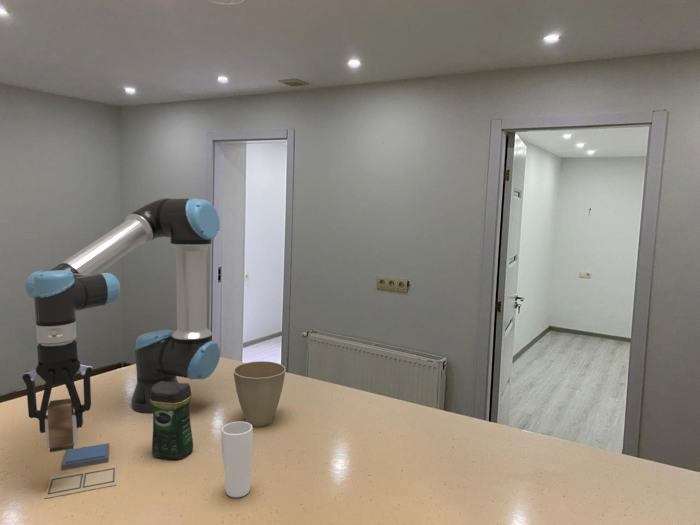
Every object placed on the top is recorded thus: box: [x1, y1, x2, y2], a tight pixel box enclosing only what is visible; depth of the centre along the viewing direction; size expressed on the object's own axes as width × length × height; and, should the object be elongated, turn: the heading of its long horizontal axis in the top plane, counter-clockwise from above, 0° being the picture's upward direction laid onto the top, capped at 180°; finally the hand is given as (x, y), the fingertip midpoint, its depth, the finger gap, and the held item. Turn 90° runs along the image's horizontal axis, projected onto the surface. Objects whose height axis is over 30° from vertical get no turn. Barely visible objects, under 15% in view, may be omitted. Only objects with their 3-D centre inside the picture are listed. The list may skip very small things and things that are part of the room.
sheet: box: [44, 465, 118, 500], centre depth 116 cm, size 14×9×1 cm, turn 113°
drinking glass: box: [221, 421, 254, 498], centre depth 112 cm, size 7×7×15 cm
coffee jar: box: [150, 381, 194, 460], centre depth 129 cm, size 10×8×19 cm
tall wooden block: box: [47, 398, 75, 453], centre depth 113 cm, size 4×4×10 cm
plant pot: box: [232, 360, 286, 428], centre depth 148 cm, size 15×15×16 cm
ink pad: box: [61, 442, 111, 471], centre depth 127 cm, size 10×8×2 cm
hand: (62, 443), depth 113 cm, fingers closed on tall wooden block, 4 cm apart
